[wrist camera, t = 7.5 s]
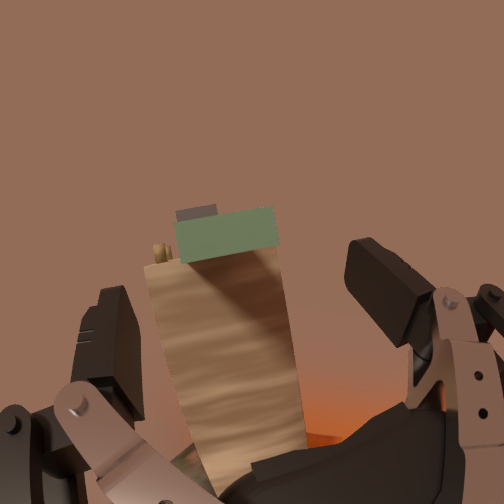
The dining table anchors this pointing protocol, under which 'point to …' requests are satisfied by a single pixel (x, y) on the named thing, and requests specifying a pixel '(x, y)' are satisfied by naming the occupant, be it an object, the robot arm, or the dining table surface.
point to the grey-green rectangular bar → (223, 232)
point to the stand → (229, 357)
